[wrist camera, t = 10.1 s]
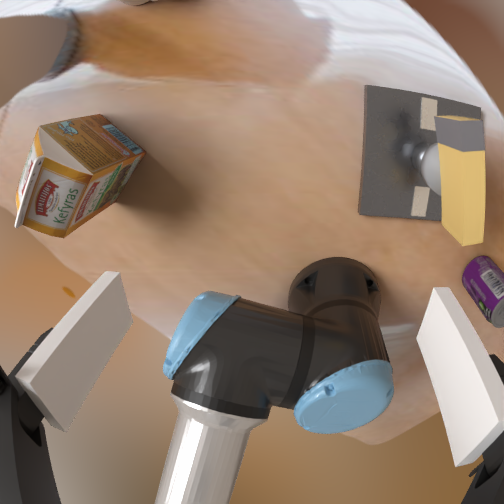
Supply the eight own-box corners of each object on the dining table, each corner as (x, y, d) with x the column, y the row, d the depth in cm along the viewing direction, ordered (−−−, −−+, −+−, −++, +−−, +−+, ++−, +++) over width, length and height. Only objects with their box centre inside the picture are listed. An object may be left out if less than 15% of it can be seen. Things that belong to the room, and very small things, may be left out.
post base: (461, 219, 41) (482, 238, 34) (357, 211, 43) (367, 230, 37) (475, 107, 33) (501, 110, 26) (364, 85, 35) (377, 82, 29)
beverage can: (454, 285, 46) (482, 329, 35) (469, 250, 43) (503, 289, 32) (481, 290, 46) (509, 331, 35) (496, 257, 42) (530, 294, 32)
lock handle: (423, 220, 35) (449, 249, 28) (414, 116, 29) (444, 121, 22) (464, 214, 33) (495, 240, 26) (459, 113, 28) (495, 120, 21)
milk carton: (115, 202, 47) (40, 255, 31) (73, 165, 45) (-8, 203, 29) (146, 151, 43) (66, 187, 26) (99, 114, 41) (10, 133, 24)
